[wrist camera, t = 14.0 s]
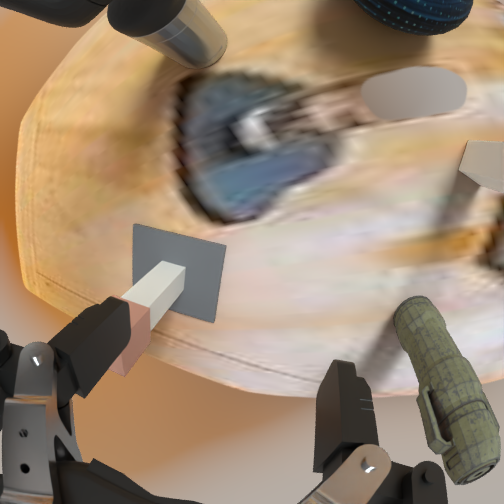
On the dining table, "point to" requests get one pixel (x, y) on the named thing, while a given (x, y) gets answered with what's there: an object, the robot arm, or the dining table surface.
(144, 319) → the cap
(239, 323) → the dining table surface
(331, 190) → the dining table surface
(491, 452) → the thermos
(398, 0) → the decorative sphere
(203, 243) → the square base with post
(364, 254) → the dining table surface
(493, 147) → the milk
